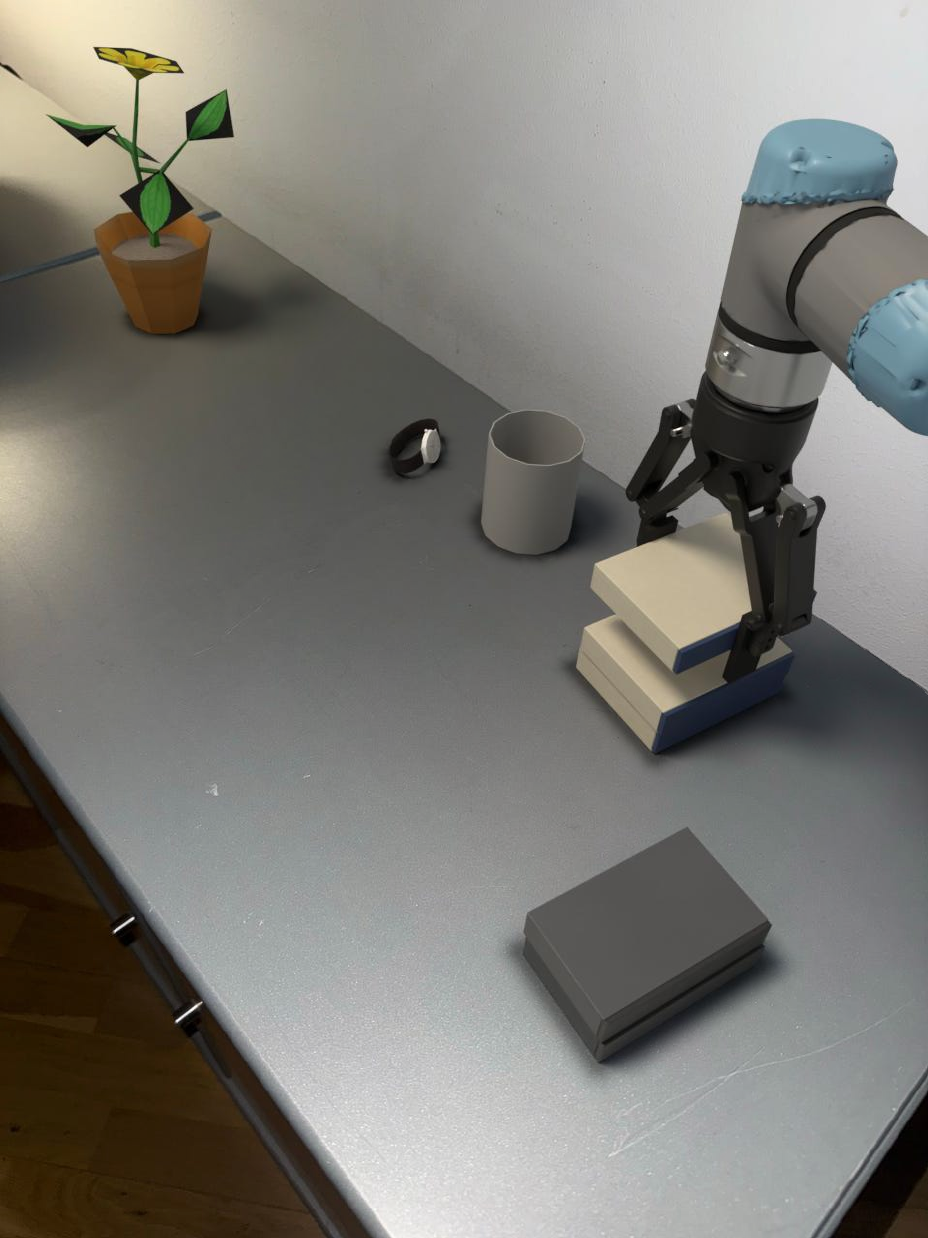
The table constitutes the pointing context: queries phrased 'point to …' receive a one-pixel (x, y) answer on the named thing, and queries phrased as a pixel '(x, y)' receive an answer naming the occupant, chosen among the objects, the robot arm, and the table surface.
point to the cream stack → (670, 684)
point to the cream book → (680, 592)
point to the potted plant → (156, 213)
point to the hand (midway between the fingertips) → (691, 627)
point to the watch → (428, 447)
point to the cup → (531, 481)
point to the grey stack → (643, 941)
